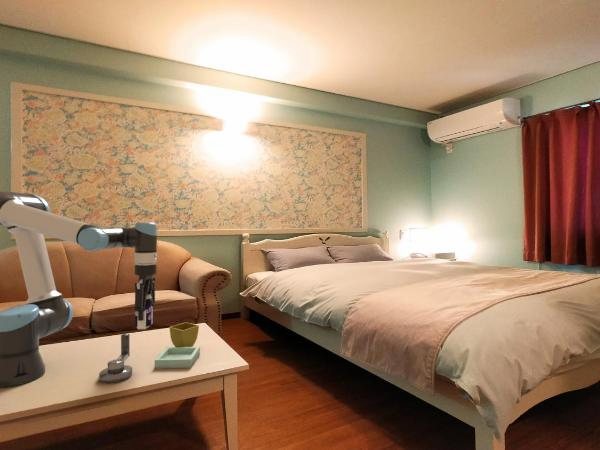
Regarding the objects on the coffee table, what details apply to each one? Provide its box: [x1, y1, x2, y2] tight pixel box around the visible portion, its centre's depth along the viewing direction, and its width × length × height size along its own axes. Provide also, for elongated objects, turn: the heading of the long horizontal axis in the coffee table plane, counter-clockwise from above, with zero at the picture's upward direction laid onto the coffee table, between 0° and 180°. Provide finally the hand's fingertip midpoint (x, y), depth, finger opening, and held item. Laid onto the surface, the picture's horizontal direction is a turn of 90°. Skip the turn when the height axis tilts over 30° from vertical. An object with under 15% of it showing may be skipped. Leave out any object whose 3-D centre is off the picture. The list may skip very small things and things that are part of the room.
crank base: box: [98, 364, 133, 385], centre depth 119 cm, size 10×10×2 cm
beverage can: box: [134, 294, 153, 329], centre depth 130 cm, size 6×6×12 cm
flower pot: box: [169, 322, 200, 347], centre depth 147 cm, size 9×9×9 cm
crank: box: [107, 332, 131, 374], centre depth 124 cm, size 15×5×9 cm, turn 12°
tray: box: [154, 346, 201, 369], centre depth 132 cm, size 13×13×3 cm
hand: (145, 326), depth 130 cm, fingers closed on beverage can, 6 cm apart
